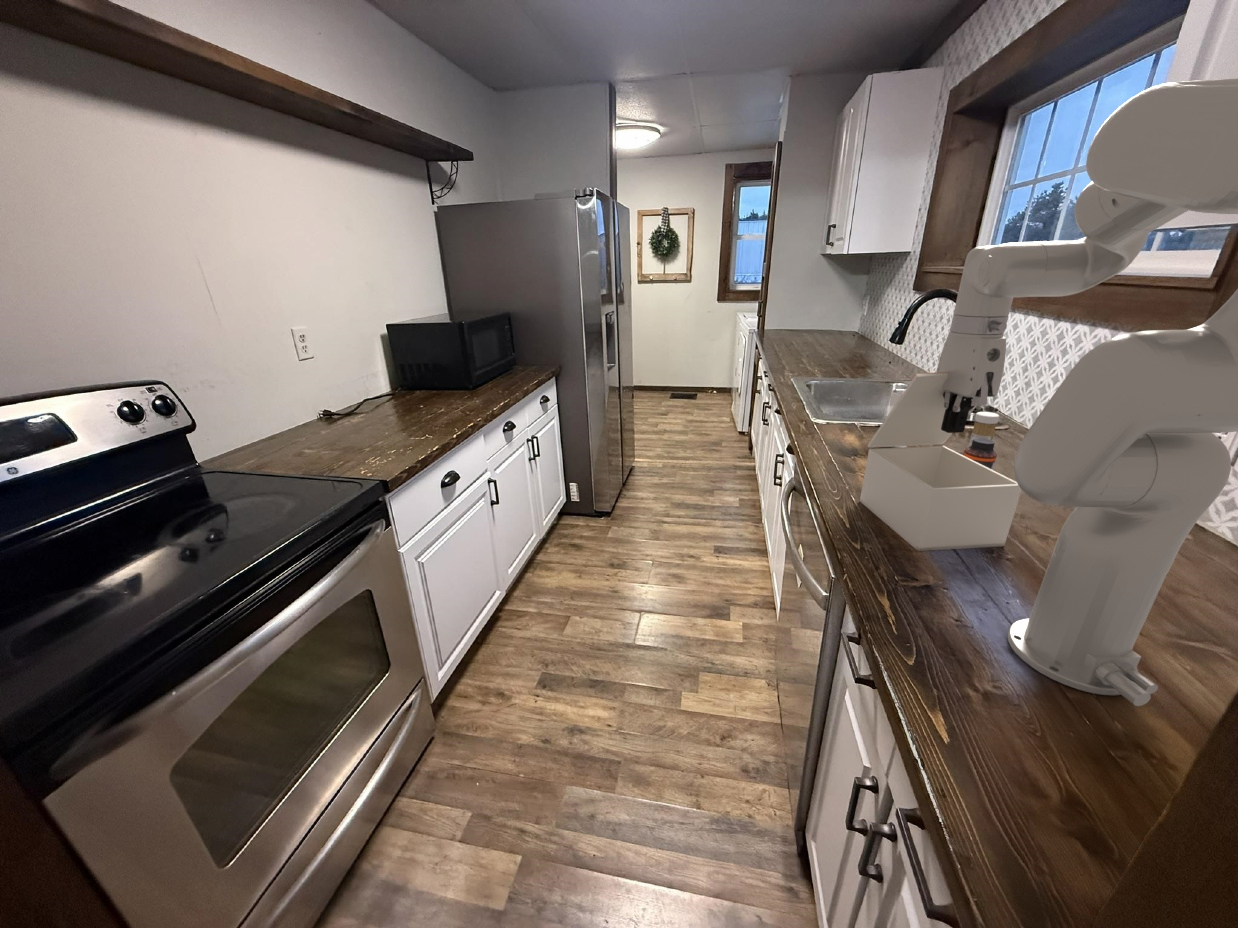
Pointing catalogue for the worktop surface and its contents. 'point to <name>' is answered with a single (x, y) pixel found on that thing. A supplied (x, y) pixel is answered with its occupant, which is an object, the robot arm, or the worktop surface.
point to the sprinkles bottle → (984, 425)
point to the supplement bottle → (982, 452)
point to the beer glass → (893, 400)
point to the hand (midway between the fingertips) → (952, 431)
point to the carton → (939, 497)
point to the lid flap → (916, 414)
